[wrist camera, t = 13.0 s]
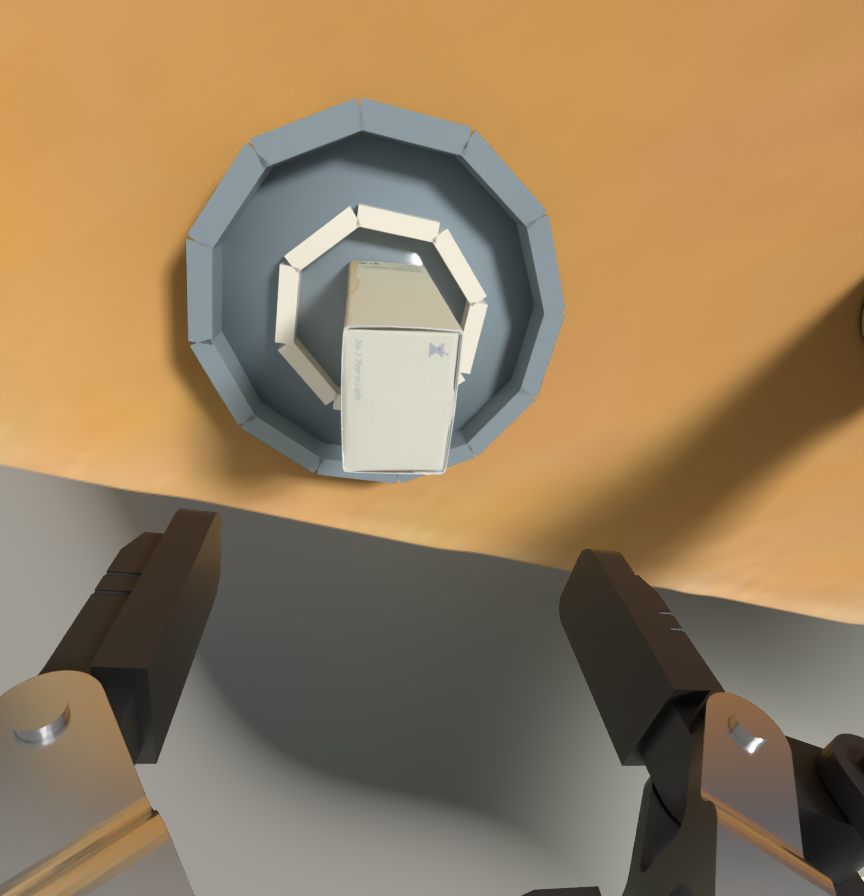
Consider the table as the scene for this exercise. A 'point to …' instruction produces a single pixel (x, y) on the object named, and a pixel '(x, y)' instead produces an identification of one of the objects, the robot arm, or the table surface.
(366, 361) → the skincare box
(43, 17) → the table surface
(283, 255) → the ring tray
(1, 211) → the table surface
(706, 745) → the robot arm
